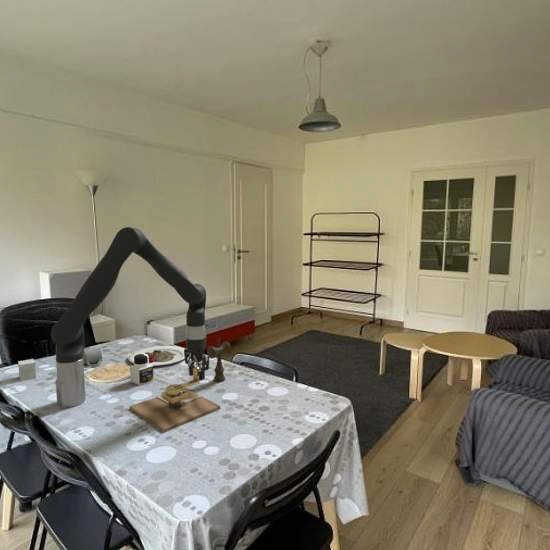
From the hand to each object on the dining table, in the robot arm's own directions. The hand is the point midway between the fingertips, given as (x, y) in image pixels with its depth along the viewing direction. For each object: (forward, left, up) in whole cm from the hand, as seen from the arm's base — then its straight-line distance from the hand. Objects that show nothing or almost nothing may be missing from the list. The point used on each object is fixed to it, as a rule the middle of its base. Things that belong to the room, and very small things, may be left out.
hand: (196, 377), depth 154 cm
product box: (-40, +73, -10) cm, 84 cm away
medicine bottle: (-6, +33, -10) cm, 35 cm away
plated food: (+15, +55, -10) cm, 58 cm away
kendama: (+19, +10, -10) cm, 24 cm away
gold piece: (-6, 0, -5) cm, 8 cm away
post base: (-10, 0, -9) cm, 14 cm away
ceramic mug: (-12, +70, -10) cm, 72 cm away
